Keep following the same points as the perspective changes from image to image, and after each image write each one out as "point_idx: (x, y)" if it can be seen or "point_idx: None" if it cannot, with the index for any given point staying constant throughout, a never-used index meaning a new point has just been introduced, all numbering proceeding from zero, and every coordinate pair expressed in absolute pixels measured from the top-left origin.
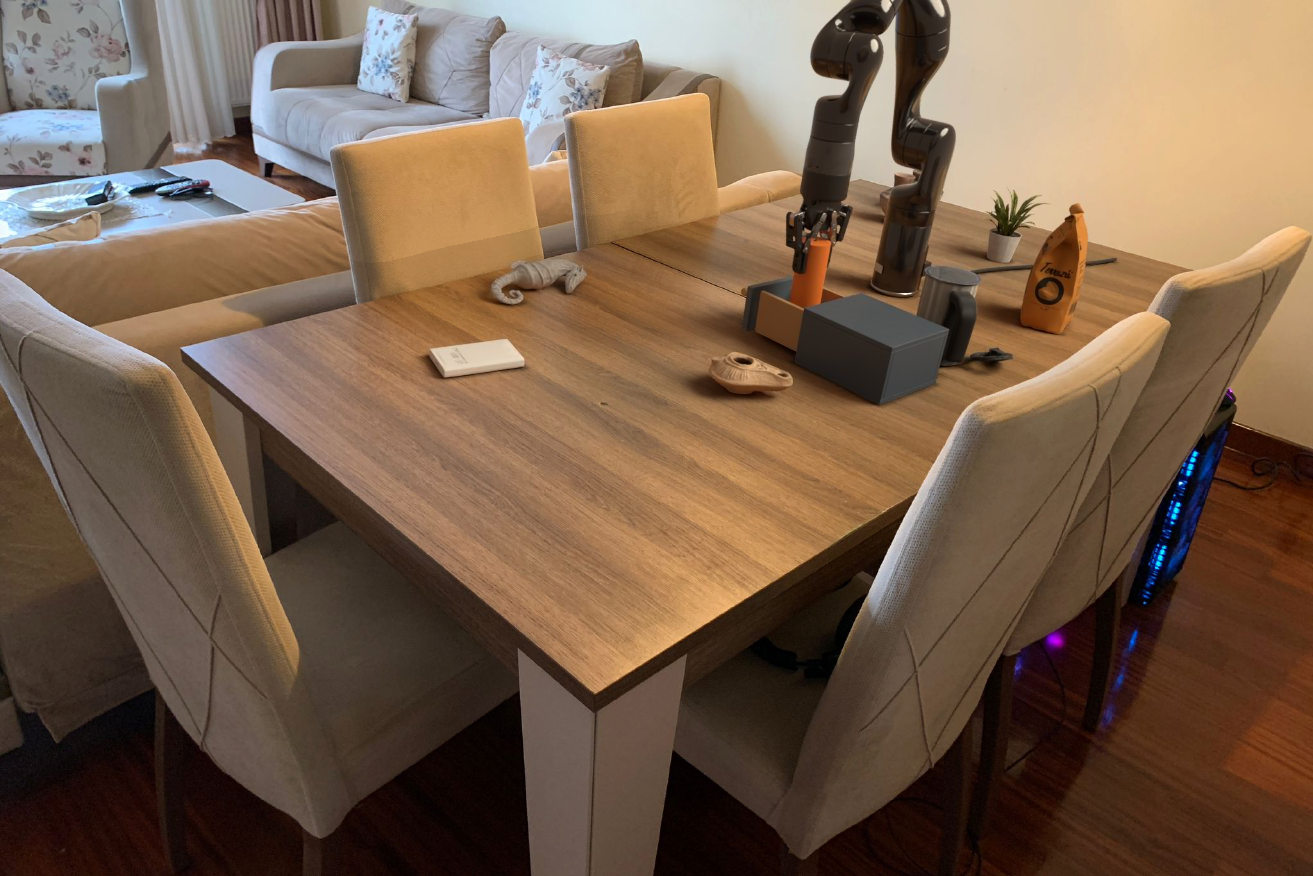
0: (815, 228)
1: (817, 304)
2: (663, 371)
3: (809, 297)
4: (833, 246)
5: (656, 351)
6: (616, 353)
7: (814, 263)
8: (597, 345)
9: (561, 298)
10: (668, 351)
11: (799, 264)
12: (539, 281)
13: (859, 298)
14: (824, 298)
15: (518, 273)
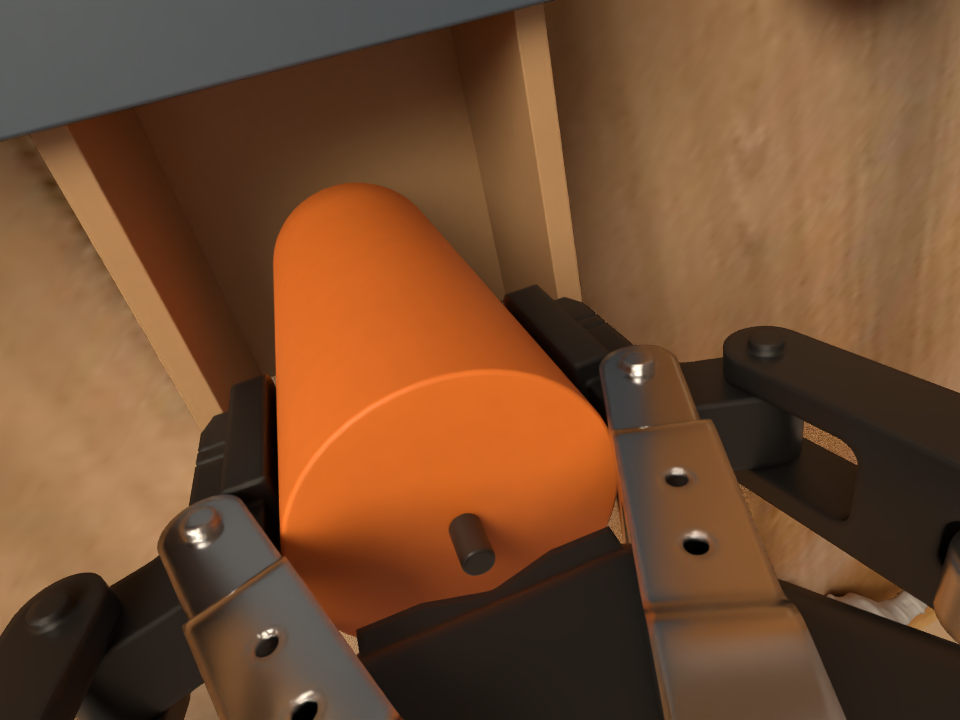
0: (743, 512)
1: (483, 13)
2: (927, 93)
3: (408, 213)
4: (197, 504)
5: (845, 239)
6: (932, 249)
7: (479, 300)
8: (931, 306)
9: (810, 561)
10: (818, 231)
11: (593, 316)
12: (854, 604)
13: (29, 27)
14: (196, 324)
15: (899, 619)
